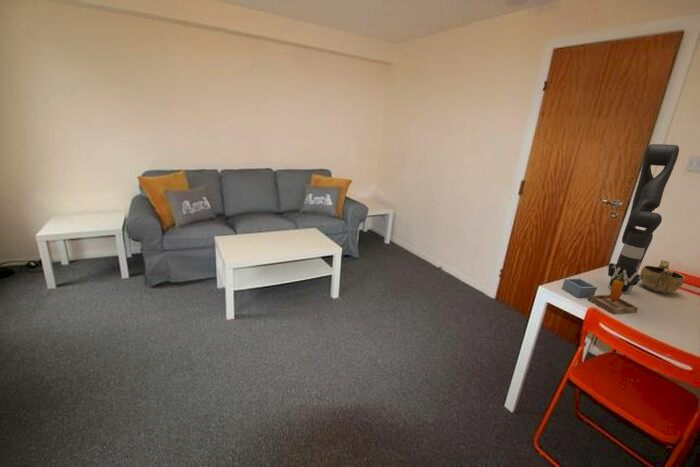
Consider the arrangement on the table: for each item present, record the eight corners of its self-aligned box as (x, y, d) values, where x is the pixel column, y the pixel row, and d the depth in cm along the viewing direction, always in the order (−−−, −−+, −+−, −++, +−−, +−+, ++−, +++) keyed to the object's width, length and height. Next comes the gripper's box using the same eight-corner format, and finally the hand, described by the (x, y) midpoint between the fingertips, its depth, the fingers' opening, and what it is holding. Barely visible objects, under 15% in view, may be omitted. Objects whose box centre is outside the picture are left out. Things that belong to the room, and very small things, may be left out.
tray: (610, 298, 164) (612, 294, 163) (636, 312, 153) (638, 307, 152) (587, 299, 160) (589, 295, 159) (612, 314, 149) (614, 309, 148)
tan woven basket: (678, 303, 167) (691, 276, 162) (636, 290, 177) (646, 264, 172) (674, 289, 184) (686, 264, 179) (635, 278, 194) (645, 254, 189)
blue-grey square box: (576, 288, 172) (579, 278, 171) (593, 297, 164) (597, 287, 162) (561, 288, 170) (564, 278, 168) (578, 298, 161) (581, 287, 159)
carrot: (614, 300, 158) (625, 271, 153) (621, 305, 153) (633, 276, 149) (603, 298, 158) (614, 270, 154) (610, 304, 154) (621, 274, 149)
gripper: (654, 261, 143) (639, 296, 148) (621, 249, 156) (609, 281, 161) (641, 261, 141) (627, 297, 146) (609, 249, 154) (597, 282, 159)
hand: (617, 289), depth 154 cm, fingers closed on carrot, 4 cm apart
